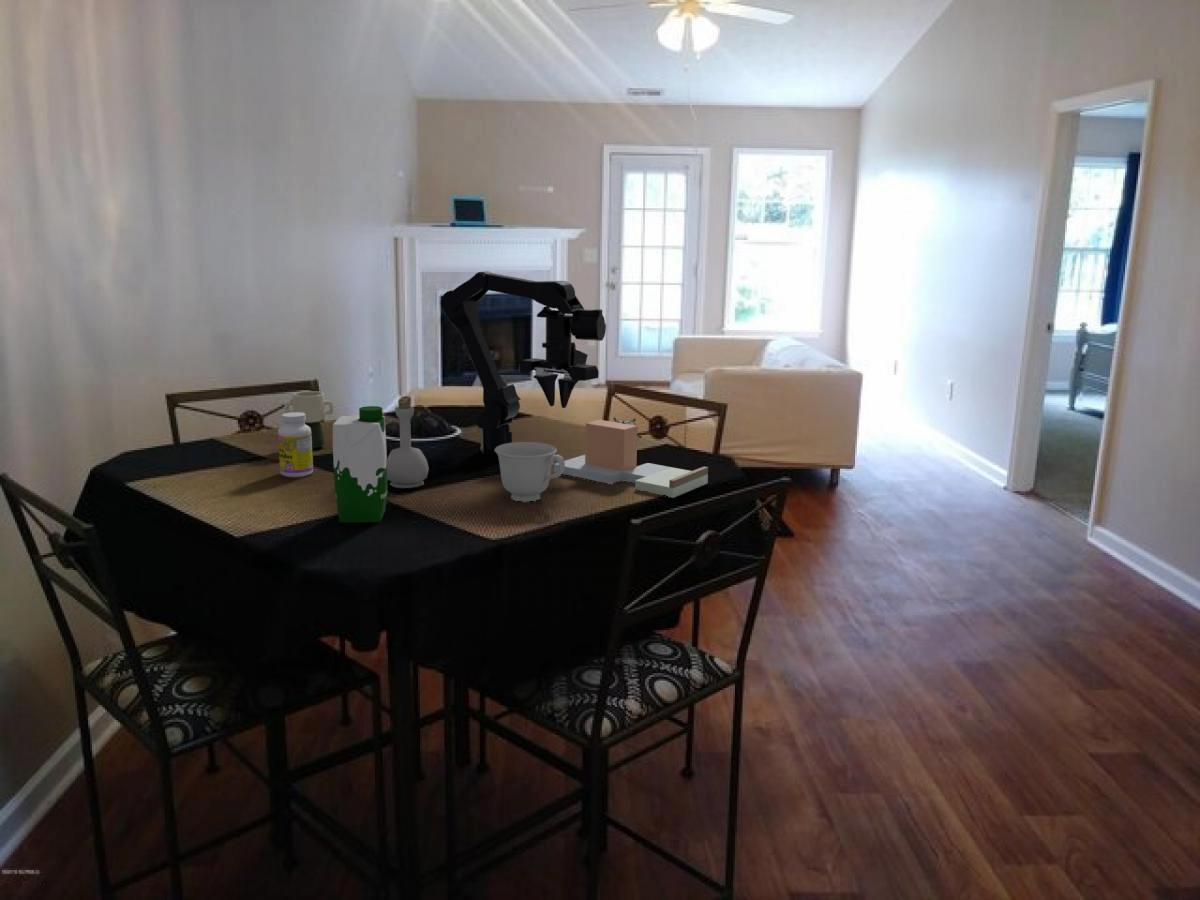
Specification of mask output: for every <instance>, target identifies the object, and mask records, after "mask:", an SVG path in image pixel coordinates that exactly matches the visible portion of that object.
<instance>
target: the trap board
mask: <svg viewBox="0 0 1200 900" xmlns="http://www.w3.org/2000/svg"><path fill="white" fill-rule="evenodd" d="M564 462H565V469H564V472H563V473H562V474H567V475H572V476H577V477H582V478H587V479H592V480H596V481H601V482H606V483H614V482H616V481H619V480H626V481H630V482H635V484H634V487H635V489H639V490H644V491H648V492H653V493H658V494H664V495H666V496H668V497H667V498H673V499H674V498H676V497H679V496H682V495H683V494H686V493H688V492H691V491H693V490H696V489H698V488H700V487H703V486H705V485H707V484H708V481H709V480H708V479H709V466H702V467H698V468H697V469H694V470H688V469H684V468H683V469H682V468H677V467H671V466H667V465H660V464H655V463H649V462H646V463H643V464H640V465H636V467H635V468H632V469H629V470H626V471H619V470H614V469H608V468H603V467H598V466H593V465H588V464H585V454H583V455H579V456H576V457H573V458H570V459H567V460H564ZM558 470H559V463H558V462H557V463H554V464H553V473H554V472H557V471H558ZM635 489H634V490H635ZM666 496H665V497H666Z"/></svg>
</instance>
